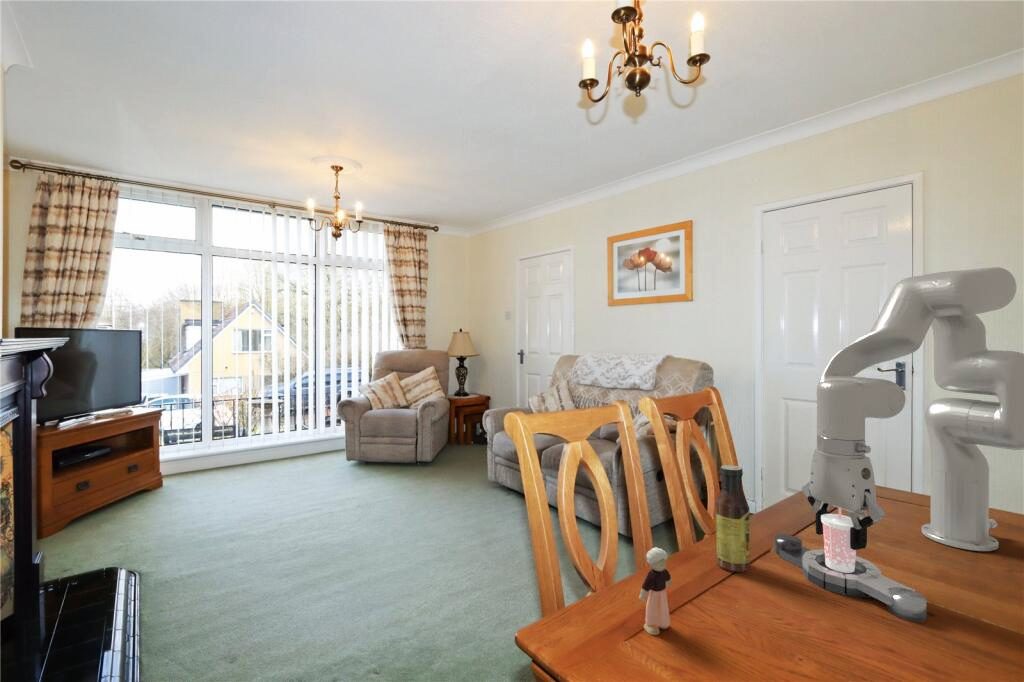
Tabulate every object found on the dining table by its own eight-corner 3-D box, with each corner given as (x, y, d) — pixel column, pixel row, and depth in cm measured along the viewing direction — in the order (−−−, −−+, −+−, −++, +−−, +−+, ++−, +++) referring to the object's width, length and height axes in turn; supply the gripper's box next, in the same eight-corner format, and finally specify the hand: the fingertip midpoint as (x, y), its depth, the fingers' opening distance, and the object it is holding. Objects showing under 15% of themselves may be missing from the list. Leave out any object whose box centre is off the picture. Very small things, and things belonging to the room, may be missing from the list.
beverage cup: (867, 571, 89) (868, 496, 89) (844, 577, 87) (844, 500, 87) (835, 557, 95) (835, 486, 95) (813, 562, 93) (813, 490, 92)
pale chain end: (833, 560, 98) (833, 545, 98) (948, 614, 79) (948, 596, 79) (788, 569, 95) (788, 554, 95) (897, 629, 76) (897, 610, 76)
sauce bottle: (754, 575, 93) (754, 473, 93) (720, 572, 94) (719, 471, 94) (745, 559, 99) (744, 464, 99) (713, 557, 101) (712, 462, 100)
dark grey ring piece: (799, 544, 106) (799, 530, 106) (896, 589, 87) (896, 573, 87) (756, 552, 102) (756, 538, 102) (847, 602, 83) (847, 585, 83)
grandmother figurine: (658, 642, 73) (657, 560, 73) (635, 632, 76) (635, 552, 76) (679, 620, 79) (679, 543, 79) (657, 611, 81) (657, 536, 81)
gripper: (904, 455, 83) (903, 558, 84) (813, 435, 100) (813, 521, 100) (873, 459, 81) (872, 564, 81) (785, 438, 98) (785, 526, 98)
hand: (840, 539), depth 91 cm, fingers closed on beverage cup, 6 cm apart
